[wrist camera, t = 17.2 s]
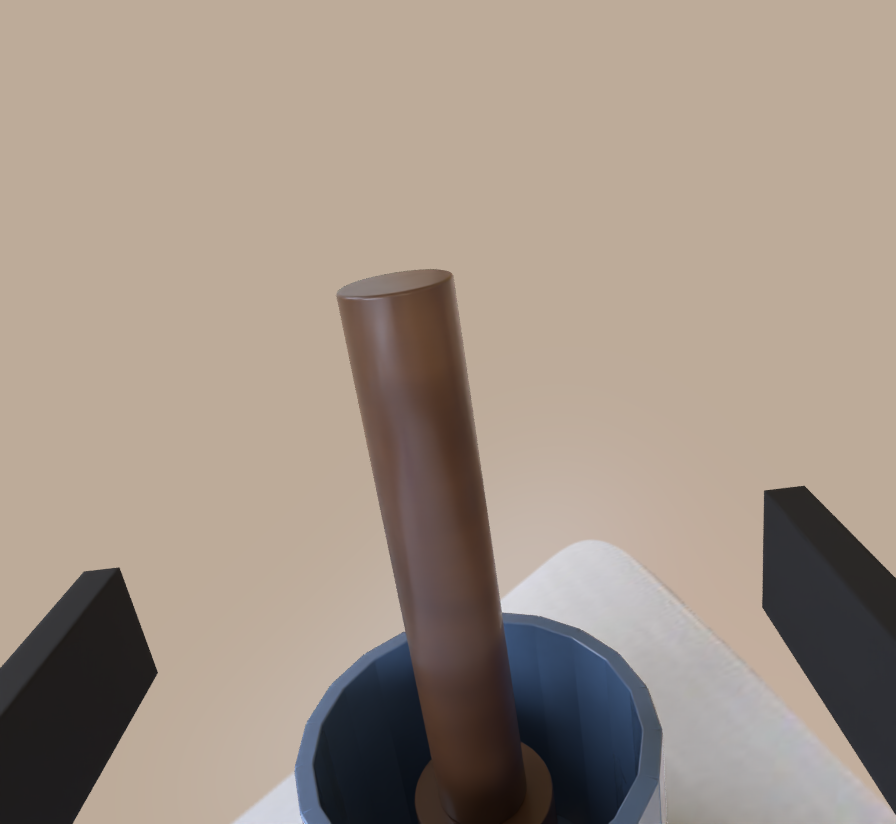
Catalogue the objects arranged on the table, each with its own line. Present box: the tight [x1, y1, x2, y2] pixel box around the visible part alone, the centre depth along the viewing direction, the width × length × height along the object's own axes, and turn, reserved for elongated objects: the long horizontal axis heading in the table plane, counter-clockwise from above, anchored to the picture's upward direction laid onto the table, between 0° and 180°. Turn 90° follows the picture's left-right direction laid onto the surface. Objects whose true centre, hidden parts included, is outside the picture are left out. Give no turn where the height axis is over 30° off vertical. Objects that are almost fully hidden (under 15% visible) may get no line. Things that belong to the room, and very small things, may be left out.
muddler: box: [337, 269, 558, 824], centre depth 18 cm, size 4×4×20 cm
